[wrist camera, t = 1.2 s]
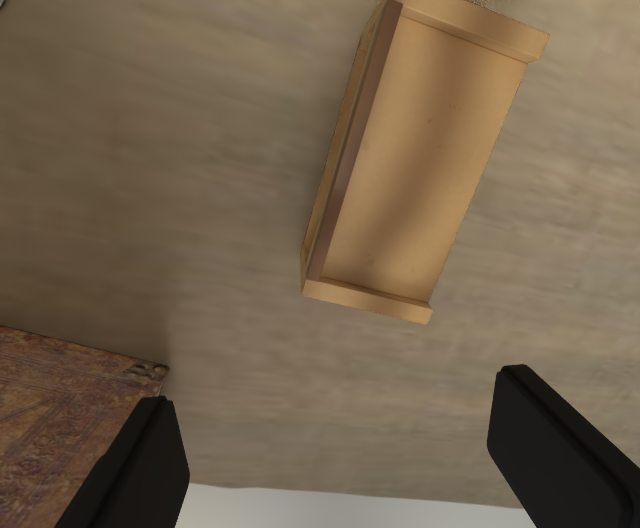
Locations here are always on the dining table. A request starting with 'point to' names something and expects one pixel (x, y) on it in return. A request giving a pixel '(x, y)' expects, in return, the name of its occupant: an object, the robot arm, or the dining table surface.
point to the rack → (411, 150)
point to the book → (59, 419)
